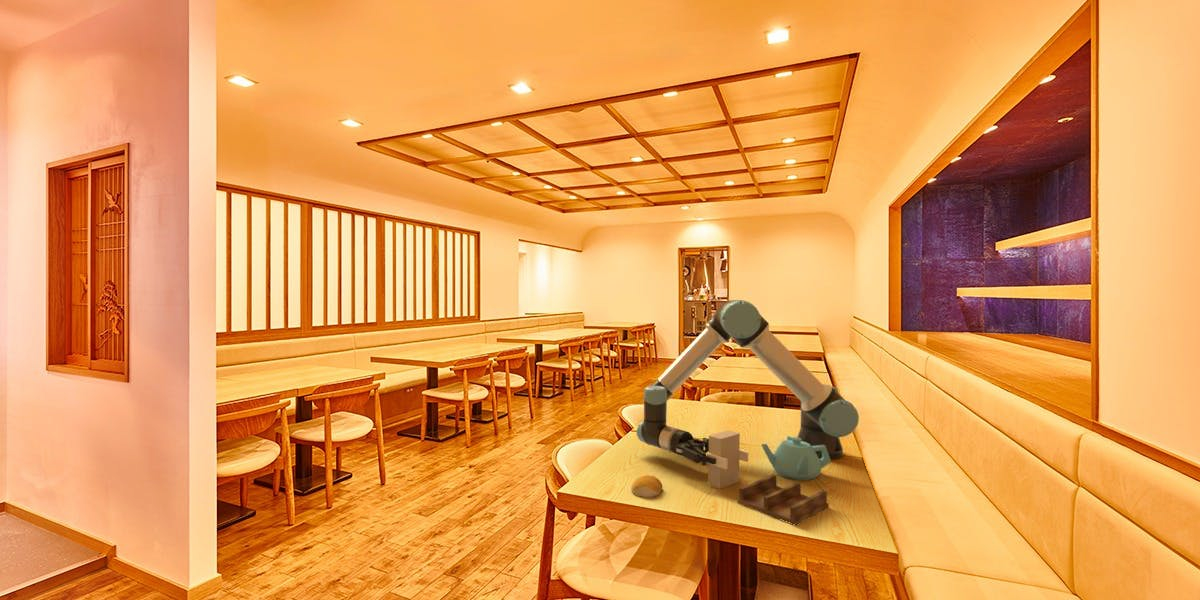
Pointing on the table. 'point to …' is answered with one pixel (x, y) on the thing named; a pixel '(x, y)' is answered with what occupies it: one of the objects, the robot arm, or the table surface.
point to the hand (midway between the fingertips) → (737, 460)
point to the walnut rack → (782, 500)
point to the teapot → (797, 459)
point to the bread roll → (646, 486)
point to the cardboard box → (727, 448)
